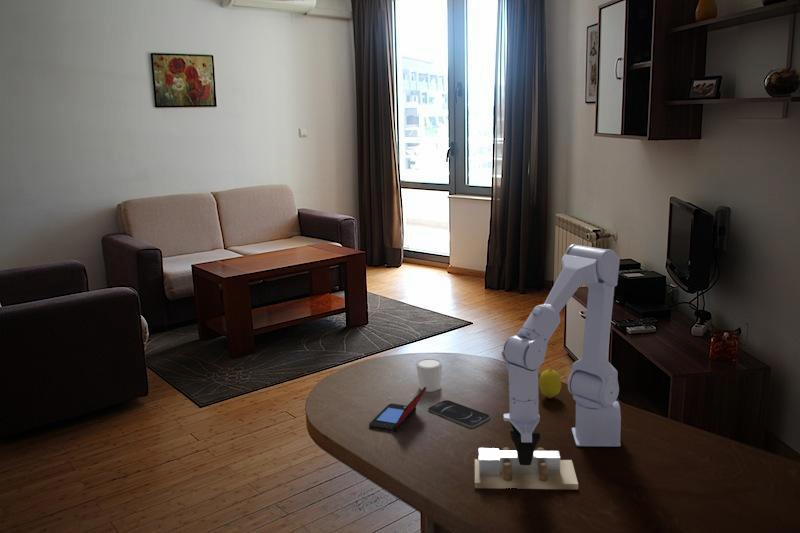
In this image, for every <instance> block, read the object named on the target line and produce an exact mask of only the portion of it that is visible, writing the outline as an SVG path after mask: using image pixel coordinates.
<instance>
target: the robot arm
mask: <svg viewBox="0 0 800 533" xmlns="http://www.w3.org/2000/svg"><path fill="white" fill-rule="evenodd" d="M620 261H621V260H620V257H619V256H618V254H617V253H616V252H615V251H614V250H613V249H610V248H607V249H606V248H605V249H604V248H599V247H593V246H588V245H587V246H586V245H580V244H578V243H573V244H570V245H569V246H568V247H567V248H566V250H565V252H564V254H563V256H562V257H561V261H560V262H561V266H560V267H561V271H560V273H559V275H558V276H557V278H556V281H555V282H554V285H553V286H552V288H551V290H550V291H549V294H548V295H547V297H546V300H544V303H541V304H538V305H536V306H534V308H533V309H532V311H531V312H530V314H529V316H528V317H527V319H526V320H525V321H524V323H523V325H522V326H521V327H520V329H519V330H518V332H517V334H514V335H513V336H509V337H508V338H507V340H505V342H504V344H503V348H502V351H501V356H502V359H503V361H504V362H505V368H506V369H505V370H507V372H508V401H509V402H508V403H509V404H508V408H509V412H508V413H503V414H502V416H503V421H504V422H509V423H510V425H511V428H512V430H510V438H511V441H512V442H513V444H514V446H515V450H516V451H517V454H518V459H519V463H520V465H531V462H532V458H533V453H534V451H535V450H536V446H537V445H538V443H539V441H540V439H541V434H540V432H534V430H535V429H536V428H537V426H538V425H539V423H540V420H541V417H540V413H539V412H540V411H539V406H540V405H539V404H540V403H539V399H540V397H539V395H540V394H539V368H541V365H542V364H543V363H544V361H545V357H546V352H547V350H548V343H549V340H550V339H551V337H552V336H553V334H554V333H555V331H556V330H557V329H558V326H559V325H560V323H561V316H560V313H561V311H562V310H563V308H565V306H566V304H568V302H569V301H570V300H571V298H572V297H573V295H574V294H575V293H576V292H577V290H578V289H579V287H581V286H584V285H585V286H586V287H587V289H588V291H587V302H586V303H587V304H586V311H585V322H584V323H585V324H584V331H583V332H584V335H583V344H582V354H581V358H579V359H578V360H576V361H574V362H573V363H572V364H571V371H570V374H569V376H568V378H567V390H568V392H569V393H570V395H572V399H573V400H575V427H571V433H572V435H573V440H574V444H575V445H576V447H607V448H609V447H622V446H621V445H622V442H621V428H622V427H621V424H622V423H621V422H622V416H621V415H622V414H621V412H622V411H621V405H620V403H619V401H618V400H617V398H618V397H619V394H620V393H619V392H620V386H619V380H618V373H619V372H618V370H617V369H616V368H615V367H614V366H613V364H611V362H609V360H608V355H609V354H608V353H609V345H610V336H611V335H610V334H611V325H612V315H613V305H614V298H615V297H614V296H615V287H617V286H618V280H619V270H620Z"/></svg>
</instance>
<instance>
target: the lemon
mask: <svg viewBox="0 0 800 533" xmlns="http://www.w3.org/2000/svg"><path fill="white" fill-rule="evenodd" d="M561 388H562V379H561V376H560V374H559V373H558V372H557V371H556V370H554V369H552V368H548V369H545V370H544V371H542V373H541V374H540V376H539V377H538V389H539V390H540V391H539V392H540V393H542V395H543V396H545V397H547V398H548V399H552V398H553V397H555V396H558V394H559V393H560V391H561Z"/></svg>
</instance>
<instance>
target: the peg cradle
mask: <svg viewBox="0 0 800 533" xmlns="http://www.w3.org/2000/svg"><path fill="white" fill-rule="evenodd" d="M501 451H511V449H510V447H502V448H501ZM536 451H546V450H545V448H544V447H537V448H536ZM575 470H576V469H575V467H574V463H573V459H560V475H548V465H547V464H546V463H540V464H539V475H512V464H511V463H508V462H506V463H504V464H503V473H504V475H500V477H480V473H479V458H478V459H477V458H474V488H475V489H503V490H504V489H506V488H507V489H508V488H510V489H511V488H517V489H520V490H523V489H524V490H528V489H529V490H579V482H578V478H577V475H576V471H575ZM517 489H516V490H517Z"/></svg>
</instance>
